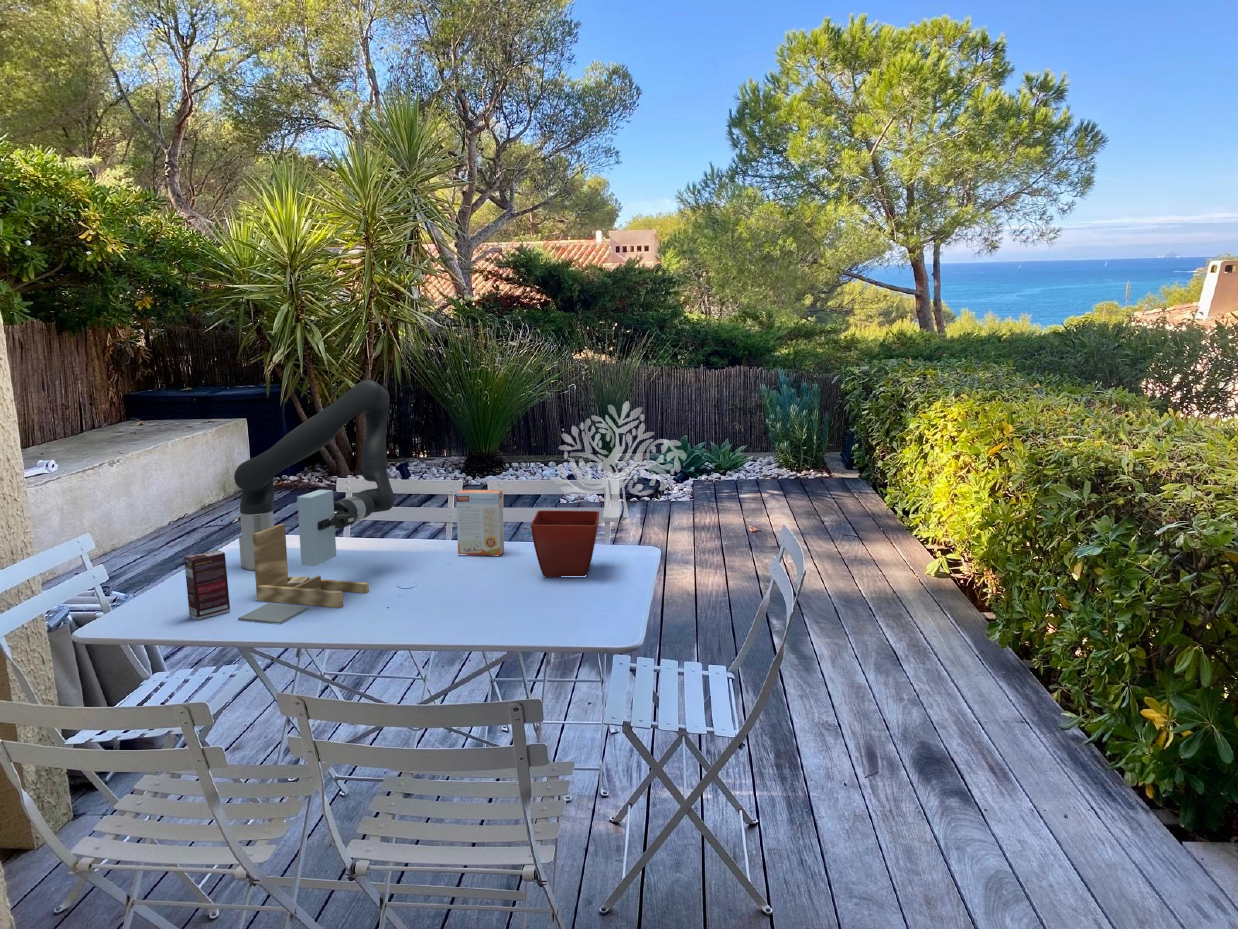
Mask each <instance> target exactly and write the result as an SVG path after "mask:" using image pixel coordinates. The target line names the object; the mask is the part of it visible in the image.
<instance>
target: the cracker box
mask: <svg viewBox="0 0 1238 929" xmlns="http://www.w3.org/2000/svg"><path fill="white" fill-rule="evenodd" d="M455 500H456V505H455V506H456V527H457V528H456V531H457V532H456V533H457V554H467V555H501V556H502V555H503V554H504V552H505V542H504V541H505V540H504V537H505V534H504V507H503V506H504V505H503V504H504V503H503V502H504V500H503V490H501V489H460V490H458V491H457V492H456V493H455ZM502 553H503V554H502Z"/></svg>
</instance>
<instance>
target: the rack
mask: <svg viewBox="0 0 1238 929" xmlns="http://www.w3.org/2000/svg"><path fill="white" fill-rule="evenodd" d="M252 535H253V550H254V564H255V570H254V577H255V591H256V592H255V593H256V600H257V601H258V602H267V603H278V602H279V603H278V604H289V605H300V606H312V607H313V606H315V607H324V608H326V607H327V608H336V609H341V608H343V607H344V592H347V593H358V594H359V593H361V594H367V593H369V592H370V584H369V582H362V581H351V580H349V581H348V580H338V579H336V580H335V579H323V578H322V576H321V575H316V576H314V577H309V580H308V581H306V582H303V583H301V584H299V585H297V586H295V587H287V583H288V582H289V581H290V580H291V579H293V578H294V577H295V576H289V569H288V566H289V565H288V550H287V537H286V536H287V535H286V524H285V523H279V524H277V525H274V527H271V528H268V529H265V530H262V531H259V532H257V533H254V534H252Z"/></svg>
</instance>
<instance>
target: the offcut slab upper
mask: <svg viewBox="0 0 1238 929" xmlns="http://www.w3.org/2000/svg"><path fill="white" fill-rule="evenodd" d="M293 577H294V578H293V579H291V580H290V581H289V582H288V583H287V587H295V586H297V585H299V584H301V583H303V582H306V581H308V580H309V578H310V576H293Z"/></svg>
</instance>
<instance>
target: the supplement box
mask: <svg viewBox="0 0 1238 929" xmlns="http://www.w3.org/2000/svg"><path fill="white" fill-rule="evenodd" d="M183 558H184V559H183V561H184V570H185V581H186V582H185V583H186V592H187V604H188V612H189V613H188V614H189V617H190V618H192V617H193V618H192V619H194V618H195V619H194V620H196V619H201V620H204V619H203V618H205V619H207V618H206V617H208V618H210V617H209V616H212V617H216V616H219V615H224V614H226V613H227V614H228V613H229V612H230V611H231V606H230V596H229V594H230V593H229V582H228V572H227V562H226V560H227V559H226V552H224V551H221V550H217V549H216V550H211V551H204V552H200V553H197V554H191V555H186V556H184V557H183Z"/></svg>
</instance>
